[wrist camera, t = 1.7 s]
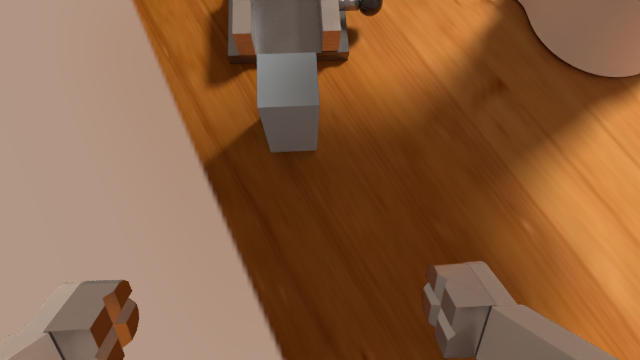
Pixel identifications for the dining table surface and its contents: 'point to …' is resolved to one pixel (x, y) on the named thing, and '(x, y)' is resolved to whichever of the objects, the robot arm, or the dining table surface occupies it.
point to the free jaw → (329, 15)
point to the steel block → (288, 100)
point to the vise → (279, 30)
